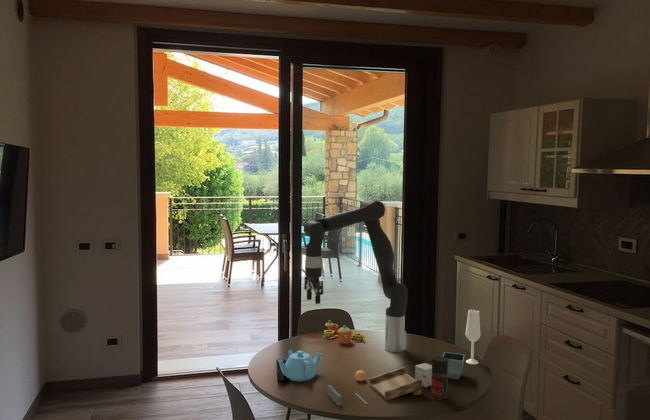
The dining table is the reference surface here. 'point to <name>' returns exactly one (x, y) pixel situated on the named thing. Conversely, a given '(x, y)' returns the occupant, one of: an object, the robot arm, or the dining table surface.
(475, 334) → the champagne flute
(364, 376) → the ball
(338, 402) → the rail
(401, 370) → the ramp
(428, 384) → the skincare box
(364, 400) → the grey thin rod
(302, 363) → the teapot
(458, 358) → the flower pot
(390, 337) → the robot arm
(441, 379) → the deodorant
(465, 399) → the dining table surface
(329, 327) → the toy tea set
